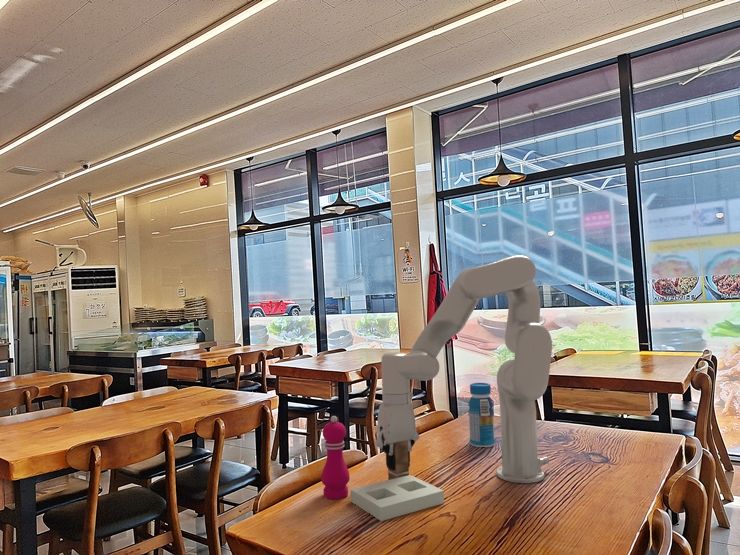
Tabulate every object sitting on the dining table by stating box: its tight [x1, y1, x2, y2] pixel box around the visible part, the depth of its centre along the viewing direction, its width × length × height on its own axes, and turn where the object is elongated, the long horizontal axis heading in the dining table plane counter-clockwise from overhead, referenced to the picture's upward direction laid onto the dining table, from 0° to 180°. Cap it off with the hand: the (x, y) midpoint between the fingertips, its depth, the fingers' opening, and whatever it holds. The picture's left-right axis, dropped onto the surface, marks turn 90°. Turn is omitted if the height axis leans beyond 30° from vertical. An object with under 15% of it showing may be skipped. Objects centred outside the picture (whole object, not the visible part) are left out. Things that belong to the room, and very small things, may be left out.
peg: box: [387, 440, 410, 480], centre depth 145 cm, size 4×4×12 cm
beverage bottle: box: [467, 382, 496, 448], centre depth 179 cm, size 8×8×20 cm
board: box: [349, 474, 445, 522], centre depth 131 cm, size 18×14×3 cm
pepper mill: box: [320, 415, 350, 500], centre depth 137 cm, size 7×7×20 cm
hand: (398, 466), depth 145 cm, fingers closed on peg, 4 cm apart
